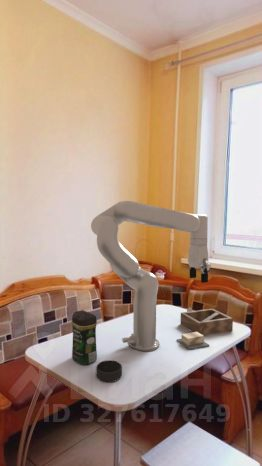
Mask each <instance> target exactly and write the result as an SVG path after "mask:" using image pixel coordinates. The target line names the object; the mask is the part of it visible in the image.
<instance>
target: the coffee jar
mask: <svg viewBox="0 0 262 466" xmlns="http://www.w3.org/2000/svg"><path fill="white" fill-rule="evenodd" d="M71 316H72V317H71V326H72V345H71V346H72V348H71V351H72V352H71V355H72V359H73V360H74V361H75V362H77V364H79V363H80V365H82V364H84V365H91V364H93V363H94V362H95V361H97V358H98V353H97V325H98V321H97V320H98V319H97V315H96V314H93V313H91V312H89V311H86V310H84V309H81V310H77V311H74V312H73V314H72V315H71ZM90 363H91V364H90Z"/></svg>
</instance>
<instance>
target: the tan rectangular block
mask: <svg viewBox="0 0 262 466" xmlns="http://www.w3.org/2000/svg"><path fill="white" fill-rule="evenodd" d="M204 338H205V335H202V334H200V333H198V332H188V333H183V334H181V339H182V342H183V343H185V344H186V345H194V344H199V343H204V342H205V339H204Z"/></svg>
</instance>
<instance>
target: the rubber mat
mask: <svg viewBox="0 0 262 466" xmlns="http://www.w3.org/2000/svg"><path fill="white" fill-rule="evenodd" d="M176 342H178V343H179V344H180V345H182V346H183V347H184V348H185V349H187V350H188V351H191V350H196V348H197V349H201V348H202V349H203V348H207V347H210V344H209V343H207V342H206V341H204V343H199V344H194V345H186V344H185V343H183V342H182V338H178V339H176Z"/></svg>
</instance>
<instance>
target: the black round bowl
mask: <svg viewBox="0 0 262 466" xmlns="http://www.w3.org/2000/svg"><path fill="white" fill-rule="evenodd" d="M95 371H96V372H95V377H96V378H97V379H98V380H99V379H100V381H101V380H102V381H101V382H104V381H105V383H112V381H113V382H115V380H116V381H118V380H120V379H121V377H122V376H123V375H122V374H123V367H122V364H121V362H119V361H116V360H109V359H108V360H103V361H101V362H99V363H98V364H97V365H96V368H95Z"/></svg>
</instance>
